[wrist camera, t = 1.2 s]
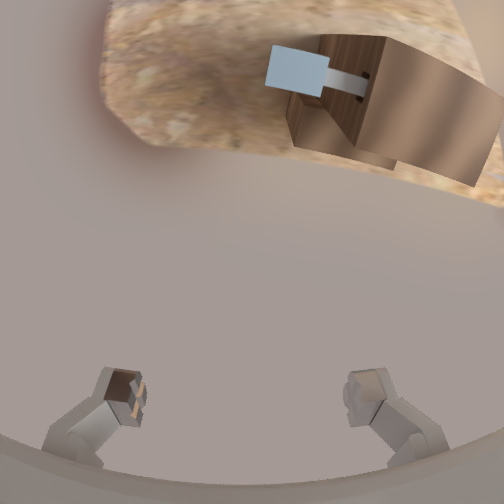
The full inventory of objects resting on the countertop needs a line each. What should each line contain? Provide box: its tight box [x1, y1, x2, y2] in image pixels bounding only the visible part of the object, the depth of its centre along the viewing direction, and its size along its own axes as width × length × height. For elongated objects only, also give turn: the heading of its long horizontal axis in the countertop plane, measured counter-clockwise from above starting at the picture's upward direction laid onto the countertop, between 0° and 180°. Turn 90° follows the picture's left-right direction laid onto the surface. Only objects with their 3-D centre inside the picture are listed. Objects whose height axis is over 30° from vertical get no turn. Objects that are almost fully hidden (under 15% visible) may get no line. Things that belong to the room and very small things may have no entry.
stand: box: [286, 34, 504, 187], centre depth 34 cm, size 17×16×28 cm
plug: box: [265, 44, 369, 97], centre depth 23 cm, size 20×4×4 cm, turn 80°
